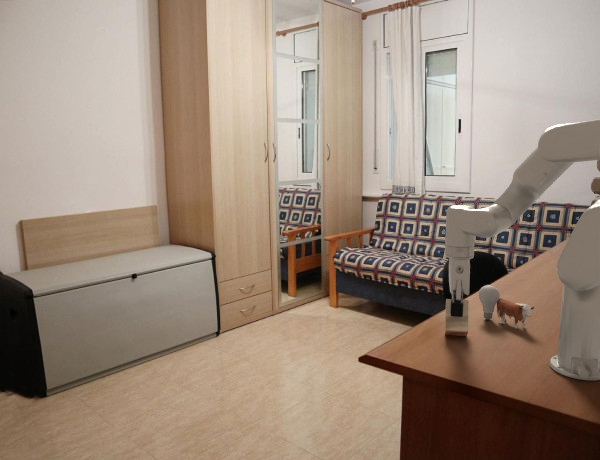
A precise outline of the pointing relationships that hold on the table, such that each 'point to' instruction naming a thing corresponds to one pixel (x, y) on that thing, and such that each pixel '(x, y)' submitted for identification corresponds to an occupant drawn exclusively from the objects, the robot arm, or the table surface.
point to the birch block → (456, 320)
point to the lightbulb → (488, 300)
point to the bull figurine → (513, 311)
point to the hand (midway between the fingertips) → (456, 315)
